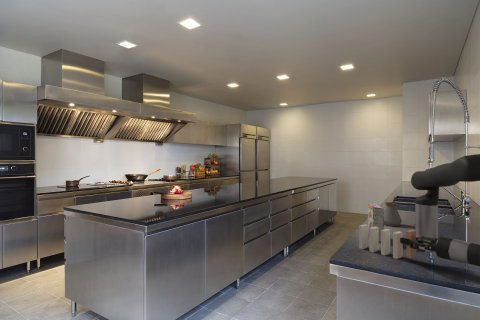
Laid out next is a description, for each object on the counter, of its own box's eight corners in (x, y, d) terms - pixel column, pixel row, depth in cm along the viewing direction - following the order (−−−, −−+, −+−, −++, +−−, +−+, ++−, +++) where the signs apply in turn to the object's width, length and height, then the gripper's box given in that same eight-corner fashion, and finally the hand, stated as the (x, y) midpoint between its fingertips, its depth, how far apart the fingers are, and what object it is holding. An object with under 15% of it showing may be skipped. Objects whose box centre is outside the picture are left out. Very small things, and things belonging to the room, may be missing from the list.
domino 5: (411, 254, 115) (411, 229, 115) (416, 255, 113) (415, 230, 113) (406, 256, 112) (406, 231, 112) (410, 258, 111) (410, 231, 111)
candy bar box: (367, 235, 149) (367, 203, 149) (377, 236, 148) (377, 204, 148) (372, 242, 138) (372, 207, 138) (384, 242, 137) (384, 207, 137)
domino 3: (386, 252, 123) (386, 228, 123) (390, 253, 122) (390, 229, 122) (380, 254, 120) (380, 230, 120) (384, 255, 119) (384, 231, 119)
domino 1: (364, 246, 131) (364, 224, 131) (367, 247, 130) (367, 225, 130) (358, 248, 129) (358, 225, 128) (362, 249, 127) (362, 226, 127)
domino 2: (375, 249, 127) (375, 226, 127) (378, 250, 126) (378, 227, 126) (369, 251, 124) (369, 228, 124) (373, 252, 123) (373, 228, 123)
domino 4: (398, 255, 119) (398, 231, 119) (402, 256, 118) (402, 232, 117) (393, 257, 116) (392, 232, 116) (397, 258, 115) (397, 233, 115)
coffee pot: (400, 228, 164) (400, 201, 164) (378, 225, 171) (378, 199, 171) (406, 221, 181) (405, 197, 181) (385, 218, 188) (385, 195, 188)
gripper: (462, 236, 105) (412, 227, 119) (446, 242, 97) (394, 232, 111) (462, 256, 105) (412, 245, 119) (446, 265, 97) (394, 252, 111)
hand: (403, 239), depth 115 cm, fingers closed on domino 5, 4 cm apart
